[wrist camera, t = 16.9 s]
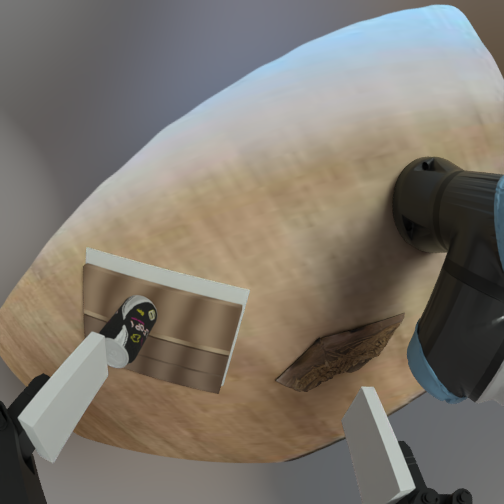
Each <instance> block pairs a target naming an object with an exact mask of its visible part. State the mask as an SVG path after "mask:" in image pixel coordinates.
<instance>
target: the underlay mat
mask: <svg viewBox="0 0 504 504" xmlns="http://www.w3.org/2000/svg"><path fill="white" fill-rule="evenodd" d="M87 263H89V264H93V265H96V266H99V267H102V268H106V269H109V270H112V271H116V272H119V273H122V274H126V275H129V276H133V277H136V278H140V279H143V280H147V281H150V282H154V283H158V284H161V285H165V286H169V287H172V288H176V289H180V290H184V291H188V292H192V293H196V294H200V295H204V296H208V297H212V298H216V299H220V300H224V301H228V302H233V303H237V304H241V305H243V306H242V312H241V316H240V319H239V323H238V327H237V330H236V334H235V337H234V341H233V345H232V348H231V352H230V355H229V359H228V363H227V366H226V370H225V373H224V377H223V381H222V384H221V386H223V384H224V381H225V377H226V374H227V370H228V367H229V363H230V360H231V356H232V353H233V349H234V345H235V342H236V338H237V335H238V331H239V328H240V324H241V321H242V317H243V313H244V310H245V306H246V303H247V299H248V295H249V292H250V290H249V289H245V288H241V287H236V286H232V285H228V284H224V283H220V282H216V281H211V280H207V279H203V278H199V277H195V276H191V275H187V274H184V273H180V272H176V271H172V270H168V269H164V268H160V267H157V266H153V265H149V264H146V263H142V262H138V261H135V260H131V259H127V258H124V257H120V256H117V255H113V254H110V253H106V252H103V251H99V250H96V249H92V248H89V247H87V248H86V264H87Z"/></svg>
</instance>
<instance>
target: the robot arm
mask: <svg viewBox="0 0 504 504" xmlns="http://www.w3.org/2000/svg"><path fill="white" fill-rule="evenodd" d="M393 215H394V220H395V223H396V226H397V229H398V231H399V232H400V234H401V236H402V237H403V238H404V239H405V240H406V241H407V242H408V243H409V244H410V245H412V246H414V247H415V248H417V249H419V250H421V251H424V252H428V253H445V252H447V255H446V258H445V261H444V264H443V266H442V268H441V271H440V274H439V276H438V279H437V282H436V284H435V287H434V289H433V291H432V294H431V296H430V299H429V301H428V303H427V305H426V308H425V310H424V312H423V314H422V316H421V318H420V319H419V320H418V322H417V324H416V327H415V332H414V334H413V336H412V338H411V341H410V343H409V345H408V349H407V359H408V364H409V367H410V370H411V372H412V374H413V376H414V377H415V379H416V380H417V381H418V383H419V384H420V385H421V386H422V387H423V388H424V389H425V390H426V391H427V392H428V393H429V394H431V395H432V396H433V397H435V398H437V399H438V400H440V401H443V400H446V402H447V403H450V404H457V403H460V402H462V401H463V400H465V399H466V398H467V397H468V398H470V399H471V400H472V401H474V402H475V403H477V404H478V403H481V402H485V401H489V400H495V401H496V402H498V403H499V404H500V405H502V406H503V407H504V175H502V174H493V173H485V172H475V171H464V170H463V169H461V168H459V167H458V166H456V165H455V164H453V163H451V162H450V161H448V160H446V159H443V158H439V157H422V158H419V159H416V160H414V161H413V162H411V163H410V164H409V165H408V166H407V167H406V168H405V169H404V170H403V172H402V173H401V175H400V176H399V178H398V181H397V183H396V186H395V189H394V194H393ZM107 377H108V368H107V358H106V347H105V336H103V335H101V334H98V333H95V332H91V333H90V334H89V335H88V336H87V337H86V338H85V340H84V341H83V342H82V343H81V344H80V345H79V346H78V347H77V348H76V349H75V350H74V352H73V353H72V354H71V355H70V356H69V357H68V358H67V359H66V360H65V362H64V363H63V364H62V365H61V366H60V367H59V368H58V370H57V371H56V372H55V373H54V374H53V375H52V376H51V377H49V376H47V375H46V374H44V373H43V374H41V375H39V376H37V377H35V378H34V379H33V380H32V381H31V382H30V383H29V385H28V386H27V387H26V388H25V389H24V391H23V392H22V393H21V394H20V395H19V396H18V397H17V398H16V399H15V401H14V402H13V403H12V404H11V405H10V407H9V408H8V409H6V407H5V405H4V404H3V402H1V401H0V504H47V502H46V499H45V496H44V493H43V490H42V487H41V483H40V480H39V477H38V472H37V469H36V465H35V460H34V456H33V454H32V453H33V451H34V450H35V449H36V451H37V452H38V454H39V455H40V456H41V457H43V458H45V459H46V460H48V461H50V462H52V463H54V462H55V460H56V458H57V456H58V455H59V453H60V451H61V450H62V448H63V446H64V445H65V443H66V441H67V439H68V438H69V436H70V435H71V433H72V431H73V430H74V428H75V426H76V425H77V423H78V422H79V420H80V418H81V417H82V415H83V414H84V412H85V410H86V409H87V407H88V406H89V404H90V403H91V401H92V400H93V398H94V396H95V395H96V393H97V392H98V390H99V389H100V387H101V386H102V384H103V383H104V381H105V380H106V378H107ZM341 421H342V425H343V429H344V432H345V436H346V440H347V444H348V447H349V451H350V455H351V459H352V463H353V467H354V471H355V474H356V479H357V483H358V487H359V491H360V495H361V500H362V504H472V495H471V494H470V492H469V491H468V490H466V489H463V488H462V489H458V490H456V491H455V492H454V493H452V494H438V493H437V492H436V491H435V490H433V489H431V488H427V487H426V485H425V482H424V480H423V477H422V475H421V472H420V470H419V467H418V465H417V464H416V460H415V458H414V457H413V453H412V451H411V449H410V447H409V446H408V445H407V444H406V443H405V442H404V441H398V442H397V439H396V437H395V434H394V432H393V430H392V427H391V425H390V423H389V420H388V418H387V416H386V413H385V411H384V409H383V407H382V404H381V402H380V400H379V398H378V395H377V393H376V391H375V389H374V387H361V388H360V390H359V392H358V394H357V395H356V397H355V399H354V400H353V402H352V404H351V405H350V407H349V409H348V410H347V412H346V414H345V415H344V417H343V418H342V420H341Z"/></svg>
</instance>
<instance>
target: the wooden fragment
mask: <svg viewBox="0 0 504 504" xmlns="http://www.w3.org/2000/svg"><path fill="white" fill-rule="evenodd" d="M404 315H405V313H403V314H400V315H397V316H394V317H391V318H388V319H386V320H382V321H379V322H376V323H373V324H370V325H367V326H364V327H361V328H359V329H355V330H352V331H347V332H343V333H340V334H336V335H332V336H328V337H324V338H321V339H320V338H318V339H317V341H316V342H315V344H313V345H312V346H311V347H310V349H308V350H307V351H306V352H305V353H304V354H303V355H302V356H301V357H300V358H299V359H298V360H297V361H296V362H295V363H294V364H293V365H292V366H291V367H290V368H289V369H287V370H286V371H285V372H284V373H283V374H282V375H281V376H280V377H279V378H278V379H277V380H276V381H277V382H279V383H281V384H283V385H285V386H287V387H290V388H293V389H295V390H297V391H299V392H301V391H305V392H308V390H310V389H312V388H314V387H317V386H318V385H320V384H321V382H324V381H327V380H328V379H332V378H333V375H335V374H340V373H344V372H345V371H346V372H349V373H351V372H354V371H356V370H359V369H360V368H361V367H362V366H363V365H365V364H366V363H367V362H368V361H369V360H371V359H372V358H373V357H375V356H379V355H380V352H381V351H382V350H383V348H384V347H385V346H386V345H387V342H388V341H389V339H390V338H391V336H392V335H393V333H394V331H395V330H396V329H397V328H398V327H399V325H400V323H401V322H402V320H403V318H404ZM321 340H322V341H321Z"/></svg>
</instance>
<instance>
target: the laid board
mask: <svg viewBox="0 0 504 504" xmlns="http://www.w3.org/2000/svg"><path fill="white" fill-rule="evenodd" d="M106 323H107V321H104V320H101V319H98V318H95V317H93V316H90V315H87V314H84V328H85V338H86V337H87V336H88V335H89V334H90V333H91V332H95V333H98V334H99V332H100V331H101V329H102V328H103V327H104V326H105V324H106ZM228 359H229V356H228V355H224V354H219V353H215V352H210V351H206V350H202V349H198V348H194V347H190V346H186V345H182V344H178V343H175V342H171V341H167V340H164V339H160V338H157V337H153V336H150V335H148V337H147V339H146V341H145V342H144V344H143V346H142V348H141V350H140V351H139V353H138V355H137V357H136V359H135V360H134V361H133V362H132V363H130V364H128V365H126V366H125V367H123V368H126V369H129V370H132V371H135V372H138V373H141V374H144V375H147V376H151V377H154V378H157V379H161V380H164V381H168V382H171V383H175V384H179V385H183V386H187V387H191V388H195V389H199V390H203V391H208V392H212V393H217V394H219V391H220V388H221V384H222V381H223V377H224V373H225V370H226V366H227V363H228Z"/></svg>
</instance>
